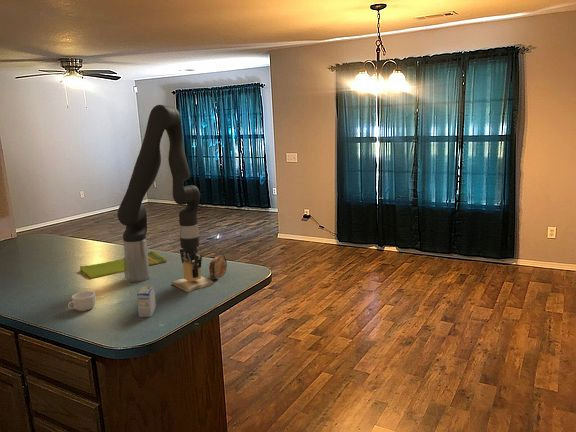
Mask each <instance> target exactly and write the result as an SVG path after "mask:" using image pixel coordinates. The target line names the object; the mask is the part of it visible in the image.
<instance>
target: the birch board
mask: <svg viewBox="0 0 576 432" xmlns="http://www.w3.org/2000/svg"><path fill="white" fill-rule="evenodd" d="M171 283H172V285H173V286H175V287H177V288H179V289H181V290H183V291H185V292H187V293H188V292H191V291H194V290H195V291H196V290H198V289H202V288H204V287H205V288H206V287H208V286H212V285H214V281H213V280H212V279H211V280H210V279H209V278H206V277H204V276H203V275H201V279H198V280H194V281H188V280H186V279H184V277H183V278H180V279H176V280H172V281H171Z"/></svg>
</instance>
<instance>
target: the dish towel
mask: <svg viewBox="0 0 576 432" xmlns="http://www.w3.org/2000/svg"><path fill="white" fill-rule="evenodd" d="M147 253H148V264H149V267H150V266H155V265H161V264H163V263H167V259H166V257H164V256H163V255H162V254H159V253H158V252H156V251H154V250H152V251H149V252H147ZM79 268H80V270H79V272H81V274H82V275H83V276H85V277H86V278H88V279H89V280H93V279H97V278H102V277H107V276H111V275H115V274H119V273H123V272H124V273H125V271H124V261H123V258H119V259H115V260H112V261H111V260H110V261H106V262H100V263H96V264H89V265H80V266H79Z"/></svg>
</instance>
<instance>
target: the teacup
mask: <svg viewBox="0 0 576 432" xmlns="http://www.w3.org/2000/svg"><path fill="white" fill-rule="evenodd" d="M70 304H72V305H73V306H72V307H71V305H70ZM95 304H96V292H95V291H93V290H83V291H80V292H77V293H73V294H72V295H71V301H69V302H68V304H67V307H68V309H70V310H76V311H78V312H86V311H87V310H88V311H89V310H92V309H93V307H94V306H95ZM88 311H87V312H88Z"/></svg>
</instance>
